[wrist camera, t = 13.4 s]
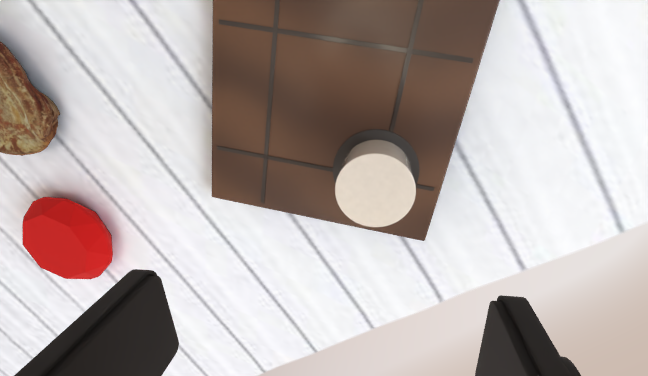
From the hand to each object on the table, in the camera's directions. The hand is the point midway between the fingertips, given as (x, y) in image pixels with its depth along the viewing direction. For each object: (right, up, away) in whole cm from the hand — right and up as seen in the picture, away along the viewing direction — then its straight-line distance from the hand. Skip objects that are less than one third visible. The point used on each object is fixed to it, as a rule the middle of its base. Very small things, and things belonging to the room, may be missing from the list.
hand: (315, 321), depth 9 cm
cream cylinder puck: (+4, +5, +15) cm, 17 cm away
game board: (+1, +10, +15) cm, 18 cm away
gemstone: (-25, -1, +25) cm, 35 cm away
